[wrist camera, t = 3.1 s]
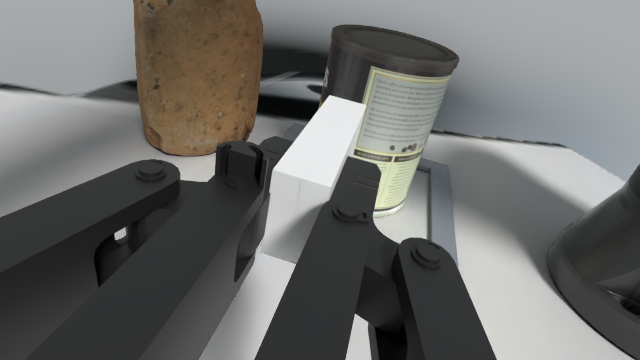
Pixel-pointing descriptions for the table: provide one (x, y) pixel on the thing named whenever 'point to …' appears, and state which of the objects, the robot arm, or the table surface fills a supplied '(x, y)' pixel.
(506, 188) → the table surface
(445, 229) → the flat grey frame
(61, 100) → the table surface
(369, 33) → the coffee can
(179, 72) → the brown rough upright block
